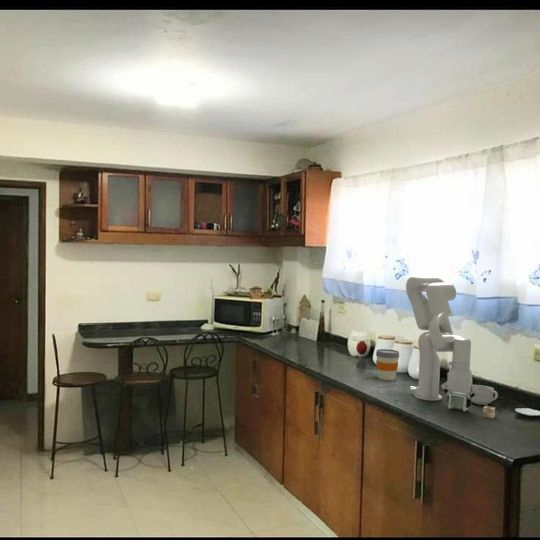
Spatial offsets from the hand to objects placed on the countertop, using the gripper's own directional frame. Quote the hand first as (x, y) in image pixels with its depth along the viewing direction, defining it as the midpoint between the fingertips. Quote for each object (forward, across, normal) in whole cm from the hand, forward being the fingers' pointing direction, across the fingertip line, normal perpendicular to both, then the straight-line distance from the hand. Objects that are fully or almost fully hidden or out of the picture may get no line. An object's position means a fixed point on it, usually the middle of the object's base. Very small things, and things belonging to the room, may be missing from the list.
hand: (458, 405), depth 254 cm
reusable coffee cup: (+2, -50, +40) cm, 64 cm away
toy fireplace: (+1, 0, 0) cm, 1 cm away
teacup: (+2, +6, +19) cm, 20 cm away
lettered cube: (+2, +13, -1) cm, 13 cm away
